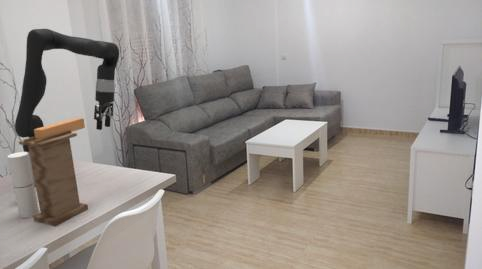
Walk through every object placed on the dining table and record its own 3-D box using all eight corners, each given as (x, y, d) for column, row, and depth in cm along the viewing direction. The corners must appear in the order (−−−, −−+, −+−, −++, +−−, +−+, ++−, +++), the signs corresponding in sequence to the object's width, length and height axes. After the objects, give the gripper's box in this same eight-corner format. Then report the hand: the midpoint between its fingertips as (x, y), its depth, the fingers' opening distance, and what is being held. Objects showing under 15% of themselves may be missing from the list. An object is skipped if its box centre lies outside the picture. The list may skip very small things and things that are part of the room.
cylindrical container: (25, 219, 160) (13, 158, 154) (15, 215, 164) (3, 156, 157) (42, 211, 166) (31, 153, 160) (32, 208, 170) (21, 151, 163)
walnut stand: (34, 221, 158) (18, 139, 150) (67, 204, 172) (54, 128, 163) (55, 226, 153) (40, 141, 144) (88, 209, 167) (76, 130, 158)
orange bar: (35, 139, 151) (33, 129, 150) (77, 127, 169) (76, 117, 168) (43, 140, 150) (41, 130, 149) (84, 127, 167) (83, 118, 166)
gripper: (103, 88, 179) (101, 125, 181) (89, 90, 165) (87, 129, 167) (120, 90, 178) (118, 126, 181) (107, 92, 164) (105, 131, 167)
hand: (103, 128), depth 174 cm, fingers open, 8 cm apart
